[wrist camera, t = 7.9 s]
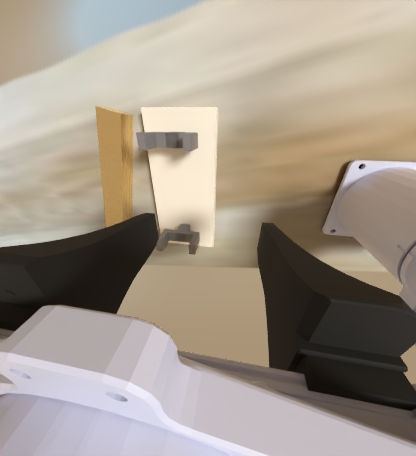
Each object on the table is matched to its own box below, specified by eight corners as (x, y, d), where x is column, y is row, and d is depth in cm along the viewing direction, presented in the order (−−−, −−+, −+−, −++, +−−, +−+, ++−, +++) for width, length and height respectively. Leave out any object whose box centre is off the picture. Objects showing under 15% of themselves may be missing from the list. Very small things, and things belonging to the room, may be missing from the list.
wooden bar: (134, 115, 18) (120, 113, 15) (133, 233, 25) (123, 242, 23) (112, 108, 18) (95, 106, 16) (117, 228, 25) (106, 237, 23)
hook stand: (218, 108, 16) (209, 100, 11) (214, 241, 23) (207, 269, 19) (146, 108, 17) (112, 101, 12) (165, 237, 24) (148, 262, 20)
